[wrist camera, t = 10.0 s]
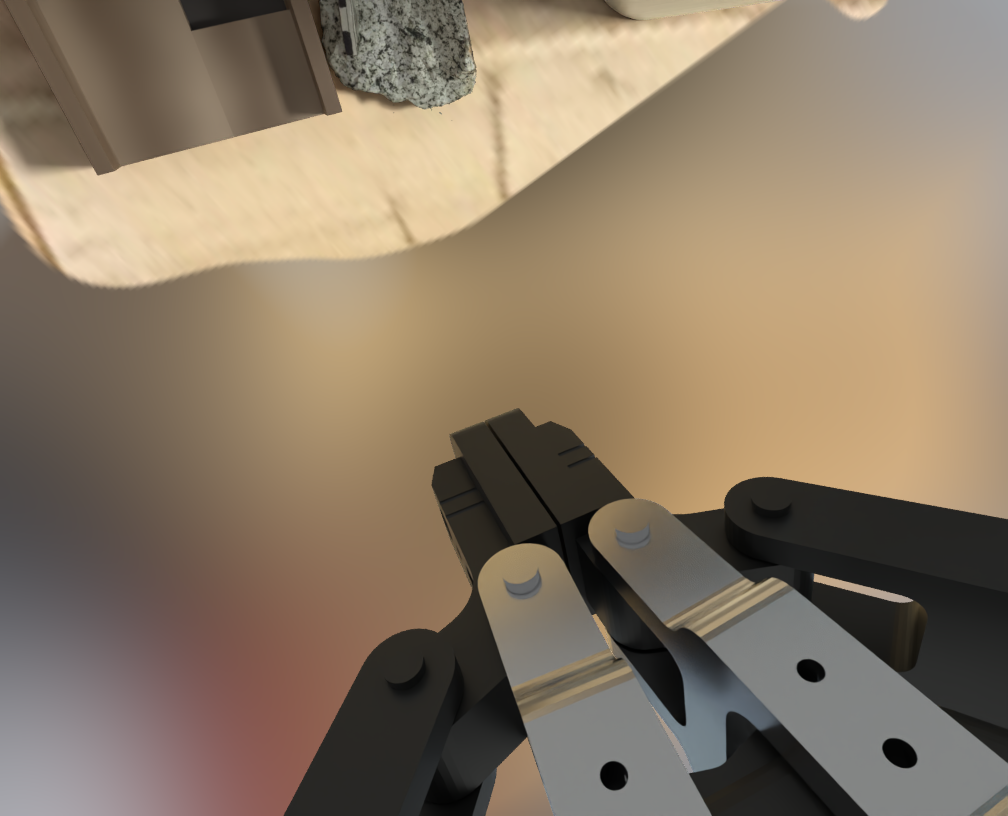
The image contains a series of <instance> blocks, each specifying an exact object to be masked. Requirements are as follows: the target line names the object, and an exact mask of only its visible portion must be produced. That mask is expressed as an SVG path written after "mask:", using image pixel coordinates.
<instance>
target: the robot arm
mask: <svg viewBox="0 0 1008 816" xmlns="http://www.w3.org/2000/svg"><path fill="white" fill-rule="evenodd" d="M773 1H779V0H605V2H606V3H607V4H608V5H609V6H610V7H611V8H612V9H614V10H615V11H617V12H618V13H620V14H621V15H623V16H626V17H629V18H632V19H635V20H652V19H659V18H665V17H672V16H679V15H687V14H694V13H700V12H707V11H714V10H720V9H727V8H733V7H740V6H746V5H753V4H760V3H766V2H773ZM450 440H451V444H452V447H453V450H454V454H455V457H456V459H453V460H451V461H448V462H446V463H443V464H441V465H438V466H435V469H434V474H433V480H432V488H433V491H434V494H435V497H436V500H437V503H438V505H439V508H440V511H441V514H442V517H443V520H444V523H445V526H446V528H447V531H448V534H449V537H450V540H451V542H452V545H453V547H454V549H455V551H456V554H457V556H458V558H459V560H460V563H461V565H462V567H463V569H464V572H465V574H466V576H467V578H468V581H469V583H470V585H471V587H472V593H471V596H470V598H469V601H468V603H467V605H466V606H465V608H464V609H463V610H462V612H461V613H460V614H459V615H458V616H457V617H456V618H455V619H454V620H453V621H452V622H451V623H449V624H448V625H447V626H446V627H445V628H443V629H442V630H441V631H440V632H438V633H437V632H435V631H432V630H427V629H411V630H406V631H403V632H400V633H397V634H395V635H393V636H391V637H389V638H388V639H386V640H385V641H383V642H382V643H381V644H379V645H378V646H377V647H376V648H375V649H374V650H373V651H372V652H371V654H370V655H369V656H368V657H367V659H366V661H365V662H364V664H363V666H362V668H361V670H360V671H359V673H358V676H357V677H356V679H355V681H354V683H353V685H352V687H351V689H350V690H349V692H348V694H347V696H346V698H345V700H344V702H343V704H342V706H341V708H340V709H339V711H338V713H337V715H336V717H335V719H334V721H333V723H332V725H331V727H330V729H329V730H328V733H327V734H326V736H325V738H324V740H323V742H322V744H321V746H320V747H319V749H318V751H317V753H316V755H315V757H314V759H313V761H312V763H311V765H310V767H309V769H308V770H307V772H306V774H305V776H304V778H303V780H302V782H301V784H300V786H299V787H298V790H297V791H296V793H295V795H294V797H293V799H292V801H291V803H290V805H289V806H288V808H287V810H286V812H285V814H284V816H485V815H486V811H487V808H488V804H489V801H490V797H491V794H492V790H493V787H494V784H495V779H496V770H497V767H498V766H499V765H500V764H501V763H502V761H504V760H505V759H506V758H507V757H508V756H509V754H511V753H512V752H513V750H515V749H516V748H517V747H518V746H519V745H520V744H521V742H522V741H523V740H524V739H525V738H526V737H527V738H528V741H529V744H530V746H531V749H532V752H533V755H534V758H535V761H536V764H537V767H538V770H539V773H540V776H541V779H542V782H543V785H544V788H545V791H546V793H547V796H548V800H549V802H550V805H551V809H552V811H553V814H554V816H1008V519H1003V518H998V517H992V516H987V515H981V514H976V513H969V512H964V511H959V510H953V509H948V508H942V507H937V506H931V505H925V504H920V503H915V502H909V501H904V500H898V499H892V498H887V497H881V496H875V495H870V494H864V493H859V492H854V491H847V490H843V489H837V488H831V487H826V486H820V485H815V484H809V483H804V482H798V481H792V480H787V479H782V478H774V477H758V478H752V479H748V480H745V481H742V482H740V483H738V484H736V485H735V486H734V487H732V488H731V489H730V490H729V492H728V493H727V495H726V497H725V501H724V508H723V509H717V510H711V511H705V512H698V513H692V514H671V513H670V512H669V511H668V510H666V509H665V508H664V507H662V506H661V505H659V504H657V503H655V502H652V501H648V500H644V499H635V498H634V497H633V496H632V495H631V494H630V493H629V492H628V490H626V488H625V487H624V486H623V485H622V484H621V483H620V482H619V481H618V480H617V479H616V478H615V476H613V474H612V473H611V472H610V471H609V470H608V469H607V468H606V467H605V466H604V465H603V464H602V463H601V461H600V460H598V458H595V456H594V454H593V453H592V452H591V451H590V450H589V449H588V448H587V447H586V446H584V443H583V442H582V441H581V440H580V439H579V438H578V437H577V436H576V435H575V433H574V432H573V431H572V430H570V429H568V428H566V427H563V426H561V425H559V424H556V423H553V422H551V421H550V422H547V423H545V424H542V425H540V426H537V427H535V426H534V425H533V424H532V423H531V422H530V420H529V419H528V418H527V417H526V416H525V414H524V413H523V412H522V411H521V410H520V409H519V408H517V409H514V410H512V411H509V412H506V413H504V414H501V415H499V416H496V417H493V418H491V419H488V420H486V421H485V423H484V422H481V423H478V424H475V425H473V426H470V427H468V428H465V429H462V430H460V431H457V432H454V433H452V434H450ZM814 574H818V575H822V576H826V577H830V578H835V579H839V580H842V581H846V582H851V583H854V584H859V585H863V586H866V587H871V588H875V589H879V590H883V591H886V592H890V593H895V594H898V595H902V596H905V597H908V598H910V599H912V600H914V601H912V602H908V603H898V602H892V601H888V600H884V599H880V598H876V597H872V596H868V595H865V594H861V593H857V592H853V591H849V590H845V589H841V588H837V587H833V586H829V585H826V584H822V583H817V582H814V581H813V580H814ZM594 614H597V616H598V617H599V619H600V620H601V622H602V623H603V625H604V626H605V629H606V635H607V640H608V645H609V647H608V645H607V643H606V641H605V639H604V637H603V635H602V633H601V632H600V630H599V628H598V626H597V624H596V622H595V621H594V618H593V617H592V615H594ZM609 648H610V649H609ZM611 651H612V652H611ZM612 653H613V654H612ZM614 656H615V657H616V658H615V657H614ZM650 703H651V704H650ZM651 705H652V706H653V707H654V709H655V710H656V711H657V713H658V714H659V715H660V717H661V718H662V719H663V720H664V722H665V723H666V725H667V726H668V727H669V729H670V730H671V731H672V732H673V734H674V735H675V737H676V738H677V739H678V741H679V743H680V744H681V746H682V748H683V749H684V751H685V753H686V756H687V758H688V761H689V763H690V766H691V768H692V770H693V772H694V773H688V771H687V770H686V768H685V766H684V764H683V763H682V761H681V759H680V757H679V755H678V753H677V751H676V750H675V748H674V746H673V744H672V742H671V741H670V739H669V737H668V735H667V733H666V731H665V730H664V728H663V726H662V724H661V722H660V720H659V719H658V717H657V715H656V713H655V711H654V710H653V708H652V706H651Z"/></svg>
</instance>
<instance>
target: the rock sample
mask: <svg viewBox="0 0 1008 816" xmlns="http://www.w3.org/2000/svg"><path fill="white" fill-rule="evenodd" d="M319 5H320V11H321V26H322V30H323V37H322V43H323V45H324V47H325V50H326V58H327V61H328V63H329V65H330V67H331V68H332V69H333V70H334V71H335V73H336V76H337V77H338V78H340V82H341V83H342V84H343V85H344V86H347V87H349V88H351V89H352V90H361V91H365V92H373V93H380V94H382V95H384V96H385V97H386V98H388V99H389V100H390V101H392V102H402V101H405V100H409V101H410V102H412V103H413V104H414V105H416V106H417V107H420V108H422V109H427V108H433V107H434V106H436V107H437V106H443V105H445V104H450V103H451V102H454V101H455V100H459V99H460V98H461V97H463V96H465V95H467V94H471V92H472V90H473V86H474V84H475V83H476V81H475V78H476V65H475V62H474V58H473V51H472V48H471V41H470V36H469V32H468V28H467V21H466V17H465V12H464V5H463V2H462V0H319ZM431 111H432V110H431ZM393 113H394V112H393ZM439 113H440V112H439ZM440 114H442V113H440ZM451 121H452V120H451Z"/></svg>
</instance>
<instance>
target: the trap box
mask: <svg viewBox="0 0 1008 816" xmlns="http://www.w3.org/2000/svg"><path fill="white" fill-rule="evenodd" d="M4 2H5V4H6V6H7V8H8V9H9V11H10V13H11V15H12V17H13V19H14V21H15V22H16V24H17V26H18V28H19V30H20V32H21V34H22V36H23V37H24V39H25V41H26V43H27V45H28V47H29V49H30V50H31V52H32V54H33V56H34V58H35V60H36V62H37V63H38V65H39V67H40V69H41V71H42V73H43V75H44V77H45V78H46V80H47V82H48V84H49V86H50V88H51V90H52V91H53V93H54V95H55V97H56V99H57V101H58V103H59V105H60V106H61V108H62V110H63V112H64V114H65V116H66V118H67V119H68V121H69V123H70V125H71V127H72V129H73V131H74V132H75V134H76V136H77V138H78V140H79V142H80V144H81V146H82V147H83V149H84V151H85V153H86V155H87V157H88V159H89V160H90V162H91V164H92V166H93V168H94V170H95V172H96V173H97V175H101V174H105V173H109V172H113V171H115V170H117V169H118V168H120V167H121V166H125V165H129V164H132V163H136V162H140V161H144V160H148V159H152V158H156V157H159V156H163V155H167V154H171V153H175V152H179V151H183V150H186V149H190V148H194V147H198V146H202V145H206V144H210V143H213V142H217V141H221V140H225V139H229V138H233V137H237V136H240V135H244V134H248V133H252V132H256V131H260V130H264V129H267V128H271V127H275V126H279V125H283V124H287V123H291V122H294V121H298V120H302V119H306V118H310V117H314V116H317V115H321V114H326V115H332V114H336V113H340V112H342V109H341V105H340V102H339V99H338V96H337V93H336V90H335V86H334V83H333V80H332V77H331V74H330V70H329V67H328V64H327V61H326V58H325V54H324V51H323V48H322V45H321V42H320V38H319V35H318V32H317V29H316V26H315V23H314V19H313V16H312V13H311V10H310V7H309V3H308V0H4Z"/></svg>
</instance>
